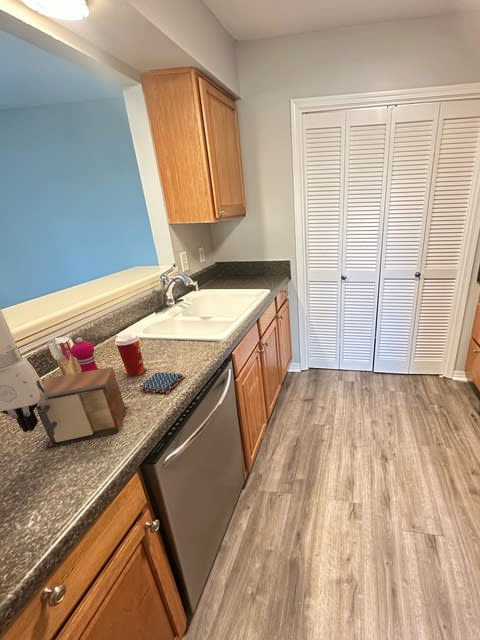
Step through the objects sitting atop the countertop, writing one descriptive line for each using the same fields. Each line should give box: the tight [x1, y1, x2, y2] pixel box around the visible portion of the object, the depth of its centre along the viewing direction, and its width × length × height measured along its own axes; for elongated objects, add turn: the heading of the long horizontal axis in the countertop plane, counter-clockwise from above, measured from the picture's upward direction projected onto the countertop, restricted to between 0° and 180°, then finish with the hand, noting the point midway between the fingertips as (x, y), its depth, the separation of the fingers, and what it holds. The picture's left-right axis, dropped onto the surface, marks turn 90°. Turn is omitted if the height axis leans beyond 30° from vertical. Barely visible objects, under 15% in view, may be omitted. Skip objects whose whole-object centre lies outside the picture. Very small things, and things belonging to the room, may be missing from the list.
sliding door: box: [37, 394, 93, 442], centre depth 80 cm, size 8×5×13 cm, turn 108°
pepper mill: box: [71, 337, 100, 372], centre depth 101 cm, size 7×7×20 cm
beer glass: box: [47, 335, 81, 376], centre depth 112 cm, size 7×7×15 cm
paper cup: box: [114, 333, 145, 377], centre depth 114 cm, size 8×8×14 cm
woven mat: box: [139, 371, 185, 394], centre depth 108 cm, size 10×11×2 cm
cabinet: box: [35, 366, 126, 448], centre depth 87 cm, size 16×12×14 cm
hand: (31, 427), depth 76 cm, fingers closed
